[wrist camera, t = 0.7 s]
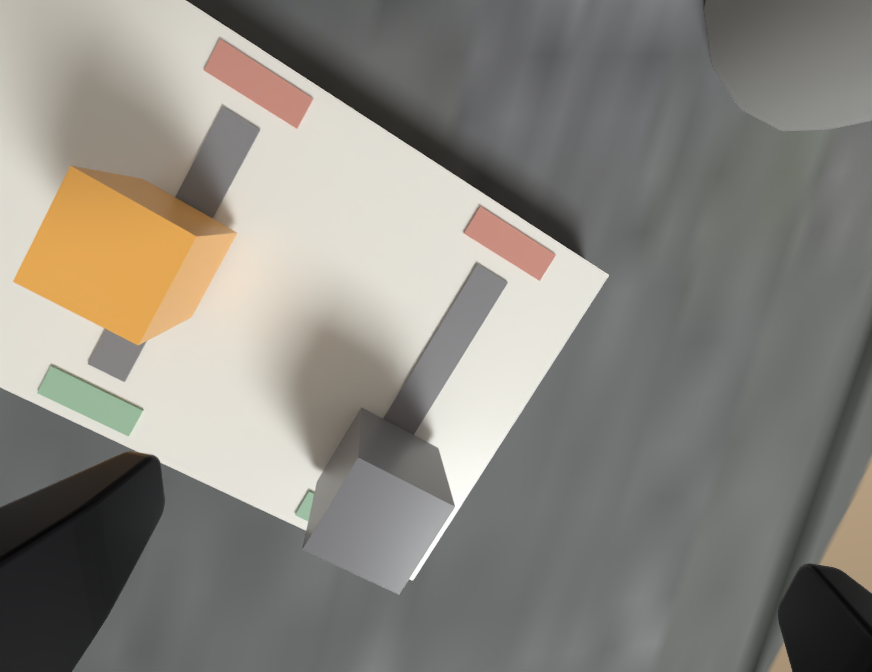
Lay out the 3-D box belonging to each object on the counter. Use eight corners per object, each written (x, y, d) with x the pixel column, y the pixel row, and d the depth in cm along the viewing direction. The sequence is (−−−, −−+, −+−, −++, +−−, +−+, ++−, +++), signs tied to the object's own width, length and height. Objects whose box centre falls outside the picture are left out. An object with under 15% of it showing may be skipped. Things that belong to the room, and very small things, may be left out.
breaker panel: (409, 549, 22) (412, 582, 20) (-279, 218, 17) (-366, 217, 15) (586, 270, 21) (610, 275, 19) (-112, -181, 16) (-184, -241, 14)
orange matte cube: (191, 317, 17) (138, 345, 13) (97, 267, 17) (13, 281, 13) (237, 233, 17) (196, 236, 13) (143, 178, 16) (70, 165, 12)
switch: (393, 519, 19) (398, 594, 15) (316, 481, 19) (302, 549, 15) (438, 448, 19) (455, 507, 15) (361, 407, 18) (358, 457, 14)
